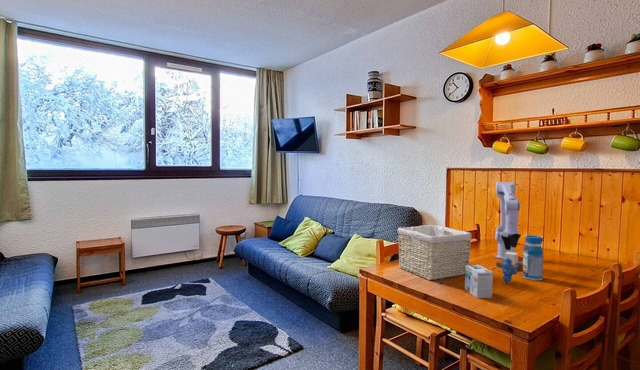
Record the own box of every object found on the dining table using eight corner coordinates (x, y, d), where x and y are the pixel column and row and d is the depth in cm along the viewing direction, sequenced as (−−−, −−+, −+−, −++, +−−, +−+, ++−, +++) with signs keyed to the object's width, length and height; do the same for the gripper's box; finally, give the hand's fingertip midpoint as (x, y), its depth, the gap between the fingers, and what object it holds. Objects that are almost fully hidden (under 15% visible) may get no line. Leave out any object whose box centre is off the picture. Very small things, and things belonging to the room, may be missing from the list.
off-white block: (507, 260, 189) (507, 251, 189) (517, 262, 186) (518, 253, 185) (504, 262, 186) (504, 253, 186) (514, 264, 182) (514, 255, 182)
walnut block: (506, 264, 193) (506, 258, 193) (525, 268, 185) (525, 263, 185) (496, 267, 187) (496, 261, 187) (515, 272, 179) (515, 266, 179)
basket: (434, 261, 198) (434, 222, 197) (473, 274, 174) (474, 231, 172) (395, 267, 186) (395, 226, 185) (431, 283, 162) (432, 236, 161)
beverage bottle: (535, 281, 163) (537, 239, 162) (518, 276, 170) (519, 235, 169) (546, 279, 167) (548, 237, 166) (529, 274, 174) (530, 234, 173)
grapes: (515, 288, 154) (516, 261, 153) (498, 285, 158) (499, 259, 157) (519, 281, 163) (520, 256, 163) (503, 278, 167) (504, 253, 167)
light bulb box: (464, 289, 154) (464, 264, 153) (479, 288, 154) (479, 264, 154) (477, 298, 143) (477, 272, 143) (493, 298, 144) (493, 272, 143)
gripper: (509, 220, 193) (508, 245, 193) (497, 223, 183) (496, 249, 184) (523, 222, 187) (522, 247, 188) (512, 225, 178) (511, 251, 179)
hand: (510, 248), depth 186 cm, fingers open, 7 cm apart
